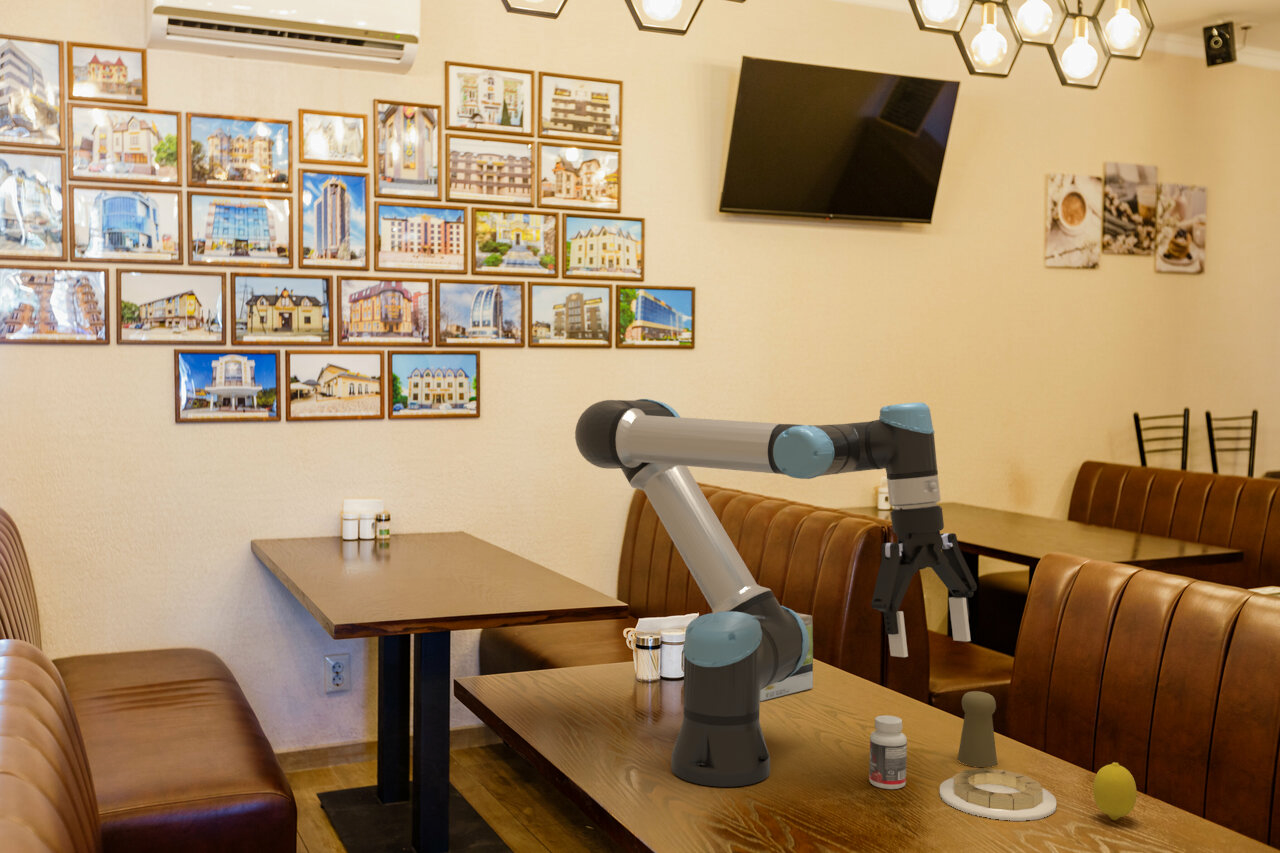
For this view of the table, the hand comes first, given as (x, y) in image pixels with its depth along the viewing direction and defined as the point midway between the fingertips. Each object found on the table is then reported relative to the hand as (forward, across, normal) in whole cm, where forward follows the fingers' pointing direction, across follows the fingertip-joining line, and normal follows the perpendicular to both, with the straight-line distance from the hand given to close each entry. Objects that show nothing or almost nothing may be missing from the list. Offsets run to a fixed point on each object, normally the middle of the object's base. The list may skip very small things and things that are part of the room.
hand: (931, 648), depth 166 cm
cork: (+21, +13, +5) cm, 25 cm away
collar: (+22, +2, -7) cm, 23 cm away
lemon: (+24, +10, -20) cm, 33 cm away
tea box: (+15, +12, +54) cm, 57 cm away
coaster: (+22, +2, -7) cm, 23 cm away
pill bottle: (+20, -6, +6) cm, 21 cm away
